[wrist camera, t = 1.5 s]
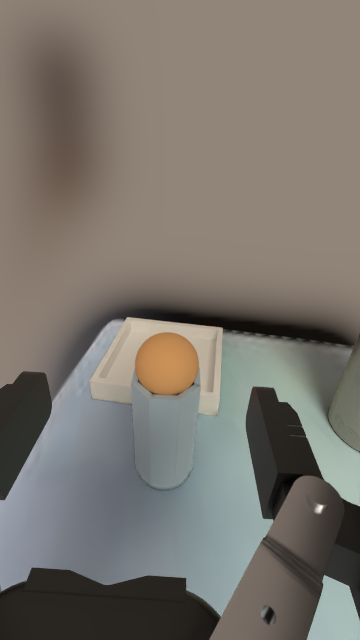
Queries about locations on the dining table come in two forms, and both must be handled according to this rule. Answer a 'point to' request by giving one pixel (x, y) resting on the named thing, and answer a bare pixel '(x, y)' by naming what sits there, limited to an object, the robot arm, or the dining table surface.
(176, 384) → the ball
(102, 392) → the tray
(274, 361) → the dining table surface
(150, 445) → the cup
